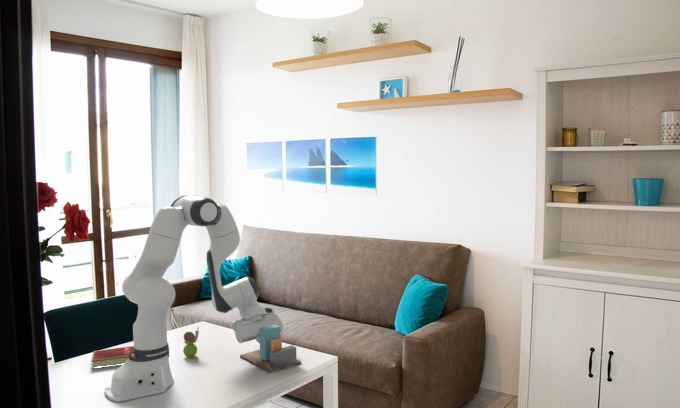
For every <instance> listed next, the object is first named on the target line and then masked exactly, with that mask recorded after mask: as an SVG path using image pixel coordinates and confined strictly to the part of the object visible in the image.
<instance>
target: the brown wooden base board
mask: <svg viewBox="0 0 680 408" xmlns="http://www.w3.org/2000/svg"><path fill="white" fill-rule="evenodd" d="M239 358H240V359H242V360H244V361H246V362H248V363H249V364H252V365H253V366H255V367H257V368H259V369H261V370H263V371H264V372H266V373H268V374H272V373H277V372H279V371H280V372H281V371H283V370H285V369H290V368H291V367H295V366H299V365H301V364H302V361H301V360H299V359H297V363H294V364H291V365H287V366H284V367H281V368H278V369H275V370H274V369H273V368H271V367H270V360H268V361H265V360H263V359H261V358H260V349H257V350H253V351H249V352H247V353H243V354H240V355H239Z"/></svg>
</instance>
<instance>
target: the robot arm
mask: <svg viewBox="0 0 680 408" xmlns="http://www.w3.org/2000/svg"><path fill="white" fill-rule="evenodd" d="M187 226H193V227H195V226H196V227H205V228H206V230H207V234H208V236H209V241H210V246H209V250H207V251H206V262H207V263H206V265H207V270H208V277H209V282H210V283H209V284H210V288H211V289H210V290H211V303H212V305H213V307H214V309H215V310H216V311H217V312H219V313H223V314H226V313H229V312H230V311H232V310H233V309H235V308H237V310H238V311H239V316H240V317H241V318H240V319H235V320H233V322H232V323H231V328H232V329H233V331H234V335H235V338H236V340H237V342H238V343H239V344H243V343H246V342H250V341H253V340H255V341H256V342H257V343H258V344H260V331H259V328H262V327H266V326H270V325H274V324H275V325H278V326H280V333H282V332H283V330H284V324H283V322H282V320H281V319H280V317H279V316H278V314H276V313H275V312H276V310H275V308H273V307H265V306H261V304H260V303H259V302H258V301H257V300H258V298H259V296H260V294H261V291H260V288H259V287H258V285H257V283H256V280H255V278H252V277H251V276H246V277H243V278H240V279H237V280H236V281H233V282H231V283H228V284H226V285H222V278H221V272H220V268H221V266H222V264H223V263H224V262H225V261H226V259H228V258H229V257H230V256H232V254H234V252H235V251H236V250H237V249H238V248H239V246H240V242H241V238H240V237H241V236H240V232H239V229H238V226H237V223H236V221H235V218H234V215H232V213H231V211H230V209H229V208H228V206H227V205H225V204H222V203H217V202H215V200H213V199H211V198H210V197H207V196H200V195H195V194H192V195H185V194H184V195H181V196H179V197H177V198H175V200H173V201H172V203H171V204H170V206H164V207H161V208H160V209H159V210H158V211H157V213H156V215H155V217H154V219H153V221H152V223H151V226H150V227H149V228H150V229H149V232H148V233H147V238H146V240H145V244H144V248H143V250H142V253H141V256H140V258H139V259H138V261H137V263H136V265H135V267H134V268H133V270H132V271H131V273H130V274H129V275H128V276H127V277H125V278H124V281H123V283H122V286H121V287H122V288H121V290H122V292H123V295H124V296H125V298H126V299H127V300H129V301H130V302H131V303H134V304H136V305H137V308H138V309H137V316H136V319H135V321H134V323H133V324H132V335H133V336H132V337H133V338H132V339H133V345H132V346H133V348H132V349H131V350H130V349H129V348H125V350H124V353H125V354H126V355H128V357H129V359H128V360H127V361H126V362H125V363H124V364H123V365H121V366H119V367H118V368H117V369H116V370H114V372H113V374H112V377H111V384H110V385H107V386H106V387H105V389H104V395H105V396H106V398H107V399H108V400H110V401H113V402H119V403H120V402H124V401H130V400H133V399H139V398H144V397H147V396H152V395H156V394H163V393H165V392H166V391H167V389H168V388H169V387H170V386H172V384H173V383H174V382H175V381H174V380H175V379H174V378H173V375H172V371H171V368H170V360H169V358H170V348H169V342H168V331H167V330H168V329H167V324H168V323H167V321H168V317H169V316H168V315H169V312H170V308H171V306H172V305H173V303H174V302H175V300H176V289H175V287H174V286H173V285H172V283H170V282H169V281H168V280H167V279H165V278H163V276H164V274H165V273H166V271H167V270H168V268H170V267H171V266H172V265H173V264H174V262H175V260H176V257H177V253H178V249H179V247H180V244H181V240H182V236H183V232H184V230H185V229H186V228H187Z"/></svg>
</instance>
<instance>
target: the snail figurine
mask: <svg viewBox="0 0 680 408" xmlns="http://www.w3.org/2000/svg"><path fill="white" fill-rule="evenodd" d="M199 332H200V331H199V326H197V327H196V330H195V332H192V331H186V332H185V333H184V334H183V339H184V341H183V343H184V344H185V345H184V347H183V349H182V350H183V351H182V352H183V355H184V356H185V357H186V358H194V357H195V356H196V355H197V352H198V347H197V345H196V344H195V343H197V340H198V338H199V334H200V333H199Z"/></svg>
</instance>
